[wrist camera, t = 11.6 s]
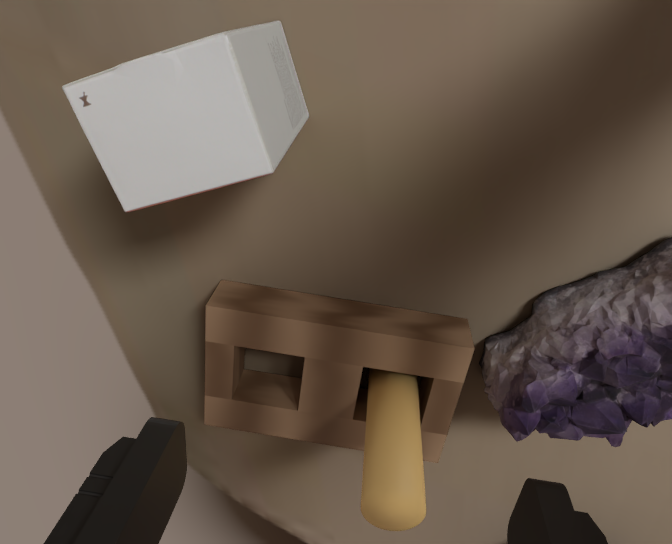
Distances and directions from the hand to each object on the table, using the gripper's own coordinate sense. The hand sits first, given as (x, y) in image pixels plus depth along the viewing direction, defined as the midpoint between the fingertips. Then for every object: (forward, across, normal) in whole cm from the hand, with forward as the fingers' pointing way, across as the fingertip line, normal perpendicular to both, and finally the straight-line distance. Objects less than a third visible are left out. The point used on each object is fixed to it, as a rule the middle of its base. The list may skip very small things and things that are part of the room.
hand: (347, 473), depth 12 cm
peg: (+27, -3, +18) cm, 32 cm away
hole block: (+27, +2, +18) cm, 32 cm away
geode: (+28, -19, +11) cm, 35 cm away
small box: (+27, +10, -3) cm, 29 cm away
